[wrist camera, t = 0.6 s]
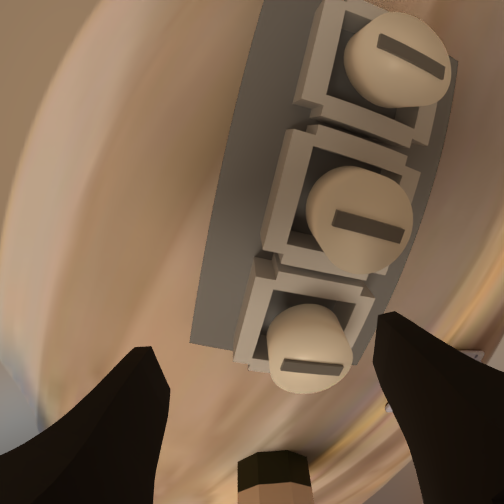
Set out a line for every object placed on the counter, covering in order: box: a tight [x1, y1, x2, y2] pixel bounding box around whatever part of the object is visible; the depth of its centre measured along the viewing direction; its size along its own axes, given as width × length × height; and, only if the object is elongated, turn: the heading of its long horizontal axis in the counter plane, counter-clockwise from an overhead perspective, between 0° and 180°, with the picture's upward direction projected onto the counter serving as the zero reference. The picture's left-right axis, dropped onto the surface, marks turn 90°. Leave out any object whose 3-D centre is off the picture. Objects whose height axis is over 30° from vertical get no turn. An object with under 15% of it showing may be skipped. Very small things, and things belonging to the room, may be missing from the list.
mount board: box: [189, 0, 458, 373], centre depth 15 cm, size 12×22×4 cm, turn 167°
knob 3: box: [306, 166, 413, 274], centre depth 12 cm, size 4×4×3 cm
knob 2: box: [344, 12, 451, 108], centre depth 9 cm, size 4×4×3 cm
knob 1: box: [266, 304, 353, 394], centre depth 14 cm, size 4×4×3 cm
